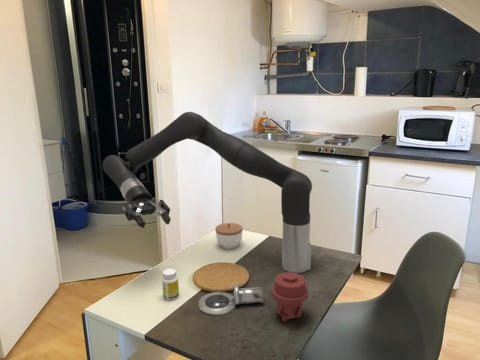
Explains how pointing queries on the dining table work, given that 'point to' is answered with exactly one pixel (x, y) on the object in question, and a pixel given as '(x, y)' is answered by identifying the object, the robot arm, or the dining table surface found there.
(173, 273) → the supplement bottle
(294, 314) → the mechanical component
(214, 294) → the flange fitting
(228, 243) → the lidded jar
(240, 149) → the robot arm
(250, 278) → the dining table surface
